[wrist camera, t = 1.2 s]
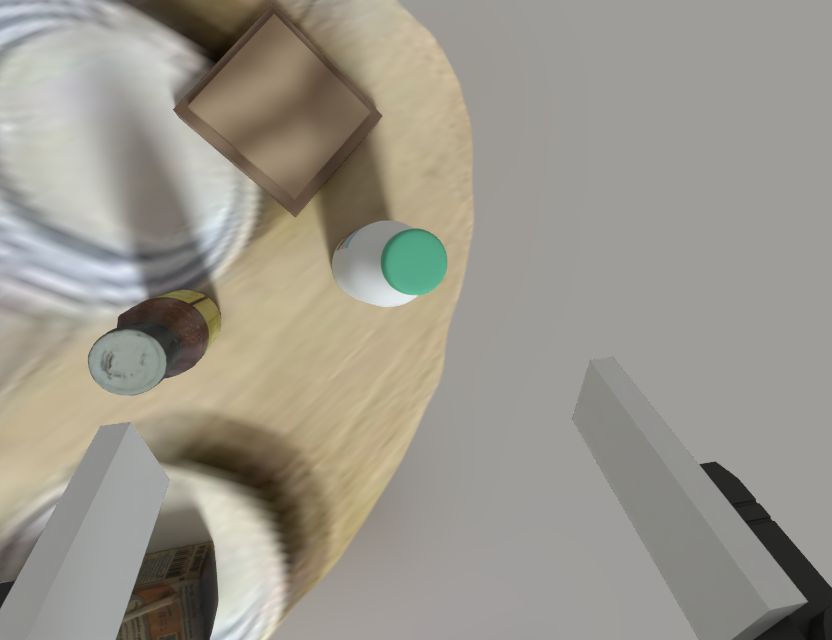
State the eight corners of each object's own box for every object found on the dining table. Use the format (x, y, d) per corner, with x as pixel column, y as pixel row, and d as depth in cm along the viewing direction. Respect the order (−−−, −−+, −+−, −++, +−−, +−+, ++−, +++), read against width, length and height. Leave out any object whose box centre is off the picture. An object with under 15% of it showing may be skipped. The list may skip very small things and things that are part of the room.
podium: (178, 117, 41) (170, 105, 38) (273, 15, 42) (272, -3, 39) (295, 217, 45) (296, 213, 42) (378, 122, 46) (384, 112, 43)
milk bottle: (395, 301, 49) (464, 321, 30) (328, 297, 47) (357, 315, 28) (400, 235, 48) (474, 211, 29) (333, 227, 46) (365, 196, 27)
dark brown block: (1, 578, 41) (-51, 634, 34) (216, 534, 46) (205, 575, 40) (14, 651, 42) (-34, 718, 35) (223, 600, 47) (214, 650, 41)
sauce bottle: (141, 323, 42) (21, 367, 23) (184, 276, 42) (102, 280, 23) (199, 363, 44) (132, 433, 25) (239, 316, 44) (204, 351, 25)
